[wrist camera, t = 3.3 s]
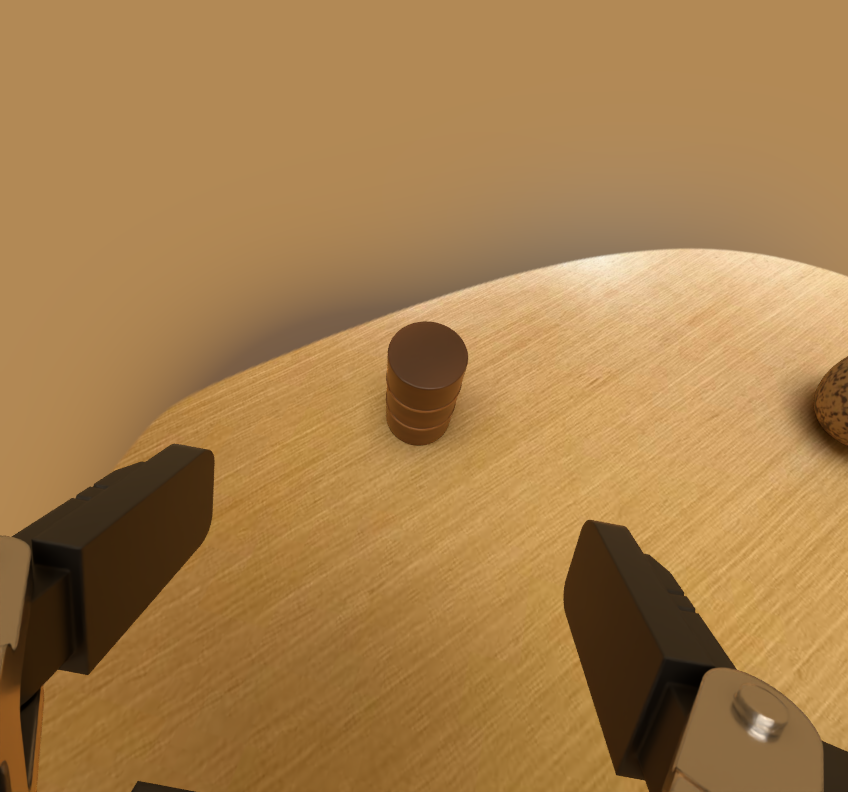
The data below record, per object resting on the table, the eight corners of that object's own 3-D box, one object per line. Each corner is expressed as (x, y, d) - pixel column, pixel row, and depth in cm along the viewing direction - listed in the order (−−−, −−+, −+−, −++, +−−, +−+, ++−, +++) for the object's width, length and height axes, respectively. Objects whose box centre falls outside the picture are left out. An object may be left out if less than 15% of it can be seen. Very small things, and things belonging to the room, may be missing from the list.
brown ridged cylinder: (372, 411, 33) (369, 347, 25) (421, 376, 34) (432, 307, 27) (414, 459, 31) (424, 406, 24) (463, 420, 33) (486, 359, 26)
